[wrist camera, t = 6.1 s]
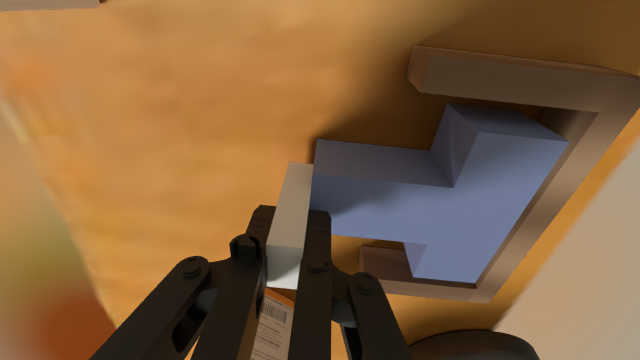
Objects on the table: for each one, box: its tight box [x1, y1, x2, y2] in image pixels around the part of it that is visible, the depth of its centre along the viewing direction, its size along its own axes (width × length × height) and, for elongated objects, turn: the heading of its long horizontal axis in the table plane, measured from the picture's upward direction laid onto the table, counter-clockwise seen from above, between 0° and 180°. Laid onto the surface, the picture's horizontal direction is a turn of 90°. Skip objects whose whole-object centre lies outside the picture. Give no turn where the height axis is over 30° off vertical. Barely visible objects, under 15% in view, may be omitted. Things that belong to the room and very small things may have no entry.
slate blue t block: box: [309, 103, 569, 283], centre depth 16 cm, size 11×10×4 cm
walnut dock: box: [358, 45, 640, 304], centre depth 17 cm, size 16×10×3 cm, turn 174°
